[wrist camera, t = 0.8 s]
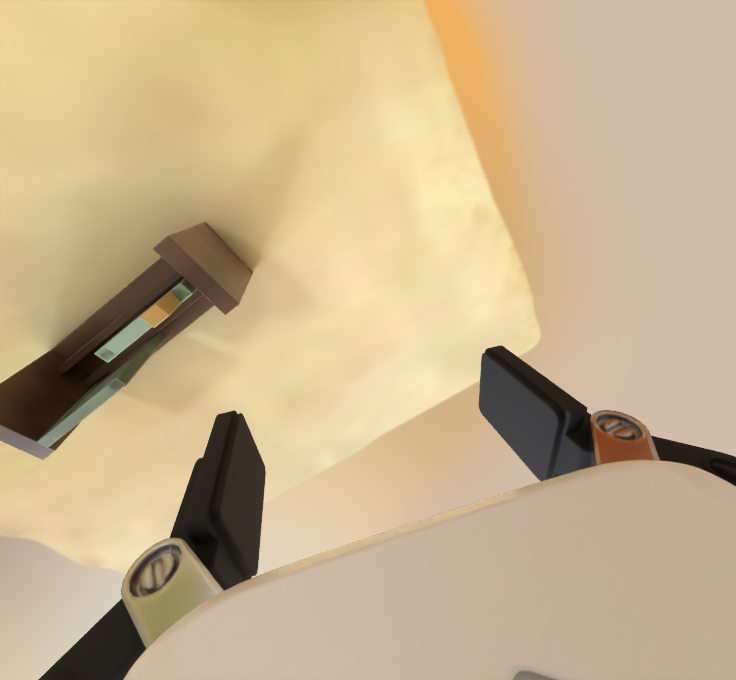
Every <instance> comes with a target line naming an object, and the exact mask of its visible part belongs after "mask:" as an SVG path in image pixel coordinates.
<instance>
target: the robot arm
mask: <svg viewBox="0 0 736 680" xmlns="http://www.w3.org/2000/svg"><path fill="white" fill-rule="evenodd" d="M479 409H480V411H481V413H482V415H483V416H484V417H485V418H486V419H487V420H488V422H489V423H490V424H491V425H492V426H493V427H494V429H495V430H496V431H497V432H498V433H499V434H500V435H501V437H502V438H503V439H504V440H505V441H506V442H507V444H508V445H509V446H510V447H511V448H512V449H513V450H514V452H515V453H516V454H517V455H518V456H519V458H520V459H521V460H522V461H523V462H524V463H525V464H526V466H527V467H528V468H529V469H530V470H531V471H532V473H533V474H534V475H535V476H536V477H537V478H538V479H539V480H540V481H541V482H538V483H535V484H532V485H529V486H526V487H523V488H519V489H516V490H513V491H510V492H507V493H504V494H501V495H497V496H494V497H491V498H488V499H485V500H482V501H479V502H476V503H472V504H469V505H466V506H463V507H460V508H457V509H454V510H451V511H448V512H445V513H442V514H439V515H435V516H433V517H429V518H426V519H423V520H420V521H417V522H414V523H411V524H408V525H405V526H402V527H399V528H396V529H393V530H390V531H387V532H383V533H380V534H377V535H374V536H372V537H368V538H365V539H362V540H359V541H356V542H353V543H350V544H347V545H344V546H341V547H339V548H335V549H332V550H329V551H326V552H323V553H320V554H317V555H314V556H312V557H309V558H306V559H303V560H300V561H297V562H295V563H292V564H289V565H286V566H283V567H280V568H277V569H275V570H272V571H269V572H266V573H264V574H261V575H259V576H256V577H254V578H251V577H252V576H255V575H256V574H257V570H258V560H259V547H260V535H261V523H262V511H263V499H264V487H265V466H264V463H263V461H262V458H261V456H260V454H259V451H258V449H257V446H256V444H255V442H254V439H253V437H252V435H251V432H250V430H249V428H248V425H247V423H246V421H245V418H244V416H243V414H242V413H240V414H237V412H236V411H231V412H227V413H223V414H218V415H217V417H216V419H215V422H214V425H213V428H212V432H211V435H210V438H209V441H208V444H207V447H206V450H205V453H204V457H203V458H200V459H198V460H197V461H196V463H195V465H194V468H193V471H192V474H191V477H190V480H189V483H188V486H187V489H186V492H185V495H184V498H183V501H182V503H181V506H180V509H179V512H178V515H177V518H176V521H175V524H174V527H173V530H172V533H171V536H170V538H169V539H164V540H162V541H160V542H158V543H156V544H154V545H153V546H152V547H150V548H149V549H147V550H146V551H145V552H144V553H143V554H142V555H141V556H140V557H139V558H138V559H137V560H136V561H135V562H134V563H133V565H132V566H131V567H130V569H129V570H128V572H127V574H126V576H125V578H124V580H123V583H122V588H121V595H122V599H121V600H120V601H119V602H118V603H117V604H116V605H115V606H114V607H113V608H112V609H111V610H110V611H109V612H108V613H107V614H106V615H104V616H103V618H101V619H100V620H99V622H97V623H96V624H95V625H94V626H93V627H92V628H91V629H90V630H89V631H88V632H87V633H86V634H85V635H84V636H83V637H82V638H81V639H80V640H79V641H78V642H77V643H76V644H75V645H74V646H73V647H72V648H71V649H70V650H69V651H68V652H67V653H65V654H64V655H63V656H62V657H61V658H60V659H59V660H58V661H57V662H56V663H55V664H54V665H53V666H52V667H51V668H50V669H49V670H48V671H47V672H46V673H45V674H44V675H43V676H42V677H41V678H40V679H39V680H736V457H734V456H731V455H728V454H725V453H721V452H717V451H713V450H709V449H704V448H700V447H696V446H692V445H688V444H684V443H679V442H675V441H671V440H667V439H663V438H658V437H654V436H651V435H650V433H649V431H648V429H647V427H646V426H645V425H643V424H642V423H641V422H640V421H639V420H637V419H635V418H634V417H632V416H629V415H627V414H624V413H621V412H617V411H610V410H603V411H598V412H595V413H594V414H593V415H591V414H589V413H588V412H587V407H585V406H584V405H583V404H581V403H580V402H579V401H577V400H576V399H574V398H573V397H572V396H570V395H569V394H568V393H566V392H565V391H563V390H562V389H561V388H559V387H558V386H557V385H555V384H554V383H552V382H551V381H550V380H548V379H547V378H546V377H544V376H543V375H542V374H540V373H539V372H537V371H536V370H535V369H533V368H532V367H531V366H529V365H528V364H526V363H525V362H524V361H522V360H521V359H520V358H518V357H517V356H516V355H514V354H513V353H511V352H510V351H509V350H507V349H506V348H505V347H503V346H496V347H492V348H488V349H486V351H485V353H483V354H482V360H481V377H480V394H479Z"/></svg>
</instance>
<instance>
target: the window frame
mask: <svg viewBox="0 0 736 680" xmlns="http://www.w3.org/2000/svg"><path fill="white" fill-rule="evenodd" d="M153 249H154V250H155V251H156V252H157V253H158V254H159V255H160V256H161V258H160V259H159V260H158V261H157V262H155V263H154V264H153V265H152V266H151V267H150V268H148V269H147V270H146V271H145V272H144V273H142V274H141V275H140V276H139V277H138V278H136V279H135V280H134V281H133V282H132V283H130V284H129V285H128V286H127V287H126V288H124V289H123V290H122V291H121V292H120V293H118V294H117V295H116V296H115V297H114V298H112V299H111V300H110V301H109V302H108V303H107V304H105V305H104V306H103V307H102V308H101V309H99V310H98V311H97V312H96V313H95V314H93V315H92V316H91V317H90V318H89V319H87V320H86V321H85V322H84V323H83V324H81V325H80V326H79V327H78V328H77V329H75V330H74V331H73V332H72V333H71V334H70V335H68V336H67V337H66V338H65V339H64V340H62V341H61V342H60V343H59V344H58V345H56V346H55V347H54V348H53V349H52V350H50V351H49V352H47V353H46V354H44V355H43V356H41V357H40V358H38V359H37V360H35V361H34V362H32V363H31V364H29V365H28V366H26V367H25V368H23V369H22V370H20V371H19V372H17V373H16V374H14V375H13V376H11V377H10V378H8V379H7V380H5V381H4V382H2V383H1V384H0V441H2V442H4V443H7V444H9V445H11V446H13V447H16V448H18V449H20V450H22V451H24V452H27V453H29V454H31V455H33V456H36V457H38V458H40V459H42V460H44V459H45V458H46V457H48V456H49V455H50V454H51V453H53V452H54V451H55V450H56V449H57V448H58V447H59V446H60V445H61V443H62V442H63V441H64V440H65V439H66V438H67V437H68V436H69V435H70V433H71V432H72V431H73V430H74V429H75V428H76V427H77V426H78V425H79V423H80V422H81V421H82V420H83V419H84V418H86V417H87V416H88V415H89V414H91V413H92V412H93V411H94V410H96V409H97V408H98V407H99V406H101V405H102V404H103V403H104V402H106V401H107V400H108V399H109V398H111V397H112V396H113V395H115V394H116V393H117V392H118V391H120V390H121V389H122V388H123V387H125V386H126V385H127V384H128V382H129V381H130V380H131V379H132V378H133V376H134V375H135V374H136V373H137V372H138V370H139V369H140V368H141V367H142V366H143V365H144V363H145V362H146V361H147V360H148V359H149V357H150V356H152V355H153V354H154V353H155V352H157V351H158V350H159V349H160V348H162V347H163V346H164V345H165V344H167V343H168V342H169V341H170V340H172V339H173V338H174V337H175V336H177V335H178V334H179V333H180V332H182V331H183V330H184V329H185V328H187V327H188V326H189V325H190V324H192V323H193V322H194V321H195V320H197V319H198V318H199V317H200V316H202V315H203V314H204V313H205V312H207V311H208V310H209V309H210V308H211V307H213V306H214V305H215V306H216V307H217V308H218V309H219V310H220V311H221V312H223V313H224V314H225V315H226V314H227V313H229V312H230V311H231V310H232V309H234V308H235V307H236V306H237V305H239V303H240V301H241V298H242V296H243V294H244V292H245V289H246V287H247V285H248V283H249V280H250V278H251V276H252V274H253V272H252V271H251V270H250V269H249V268H248V267H247V266H246V265H245V264H244V262H243V261H242V260H241V259H240V258H239V257H238V256H237V255H236V254H235V253H234V252H233V251H232V250H231V249H230V248H229V247H228V246H227V244H226V243H225V242H224V241H223V240H222V239H221V238H220V237H219V236H218V235H217V234H216V233H215V232H214V231H213V230H212V229H211V228H210V226H209V225H208V224H207V223H206V222H204V223H202V224H199V225H196V226H194V227H191V228H188V229H186V230H183V231H180V232H178V233H175V234H172V235H170V236H167V237H166V238H165V239H164V240H163V241H161V242H160V243H159V244H158V245H157V246H156V247H154V248H153ZM183 279H186V280H187V281H189V282H190V283H191V284H192V285H193V286H194V287H195V288H196V289H197V290H196V291H195V292H194V293H193V294H192V295H191V296H190V297H188V298H187V299H186V300H185V301H183V302H182V303H181V304H180V305H179V306H178V307H177V308H176V309H175V311H174V312H173V313H172V314H171V315H170V316H169V317H167V318H166V319H165V320H164V321H162V322H161V323H160V324H159V325H157V326H156V327H155V328H153V327H151V328H150V329H149V330H148V331H147V332H145V333H144V334H143V335H142V336H140V337H139V338H138V339H137V340H135V341H134V342H133V343H132V344H131V345H129V346H128V347H127V348H126V349H124V350H123V351H122V352H121V353H120V354H118V355H117V356H116V357H115V358H113V359H112V360H111V361H110V362H106V361H105V360H103V359H102V358H100V357H98V356H97V355H95V352H96V351H98V350H99V349H100V348H101V347H102V346H104V345H105V344H106V343H107V342H108V341H110V340H111V339H112V338H113V337H114V336H116V335H117V334H118V333H119V332H120V331H122V330H123V329H124V328H125V327H126V326H128V325H129V324H130V323H131V322H132V321H134V320H135V319H136V318H137V317H138V316H140V315H141V314H142V313H143V312H144V311H146V310H147V309H148V308H149V307H151V306H152V305H153V304H154V303H155V302H157V301H158V300H159V299H160V298H161V297H163V296H164V295H165V294H166V293H168V292H169V291H170V290H171V289H172V288H174V287H175V286H176V285H177V284H179V283H180V282H181V281H182V280H183Z"/></svg>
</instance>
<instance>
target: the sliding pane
mask: <svg viewBox="0 0 736 680" xmlns="http://www.w3.org/2000/svg"><path fill="white" fill-rule="evenodd" d="M196 290H197V289H196V288H195V287H194V286H193V285H192V284H191V283H190V282H189V281H187V280H186V279H183V280H182V281H181V282H180V283H179V284H177V285H176V286H175V287H174V288H172V289H171V290H170V291H169V292H168V293H166V294H165V295H164V296H163V297H161V298H160V299H159V300H158V301H157V302H155V303H154V304H153V305H152V306H151V307H149V308H148V309H147V310H146V311H144V312H143V313H142V314H141V315H140V316H138V317H137V318H136V319H135V320H134V321H132V322H131V323H130V324H129V325H128V326H126V327H125V328H124V329H123V330H122V331H120V332H119V333H118V334H117V335H116V336H114V337H113V338H112V339H111V340H110V341H108V342H107V343H106V344H105V345H104V346H102V347H101V348H100V349H99V350H98V351H96V352H95V355H97V356H98V357H100V358H102V359H103V360H105V361H106V362H110V361H111V360H112V359H113V358H115V357H116V356H117V355H118V354H120V353H121V352H122V351H123V350H124V349H126V348H127V347H128V346H129V345H131V344H132V343H133V342H134V341H135V340H137V339H138V338H139V337H140V336H142V335H143V334H144V333H145V332H147V331H148V330H149V329H150V328H151V327H153V328H155V327H156V326H157V325H159V324H160V323H161V322H162V321H164V320H165V319H166V318H167V317H169V316H170V315H171V314H172V313H173V312H174V311H175V309H176V308H177V307H178V306H179V305H180V304H181V303H182V302H183V301H185V300H186V299H187V298H188V297H190V296H191V295H192V294H193V293H194V292H195V291H196Z"/></svg>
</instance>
